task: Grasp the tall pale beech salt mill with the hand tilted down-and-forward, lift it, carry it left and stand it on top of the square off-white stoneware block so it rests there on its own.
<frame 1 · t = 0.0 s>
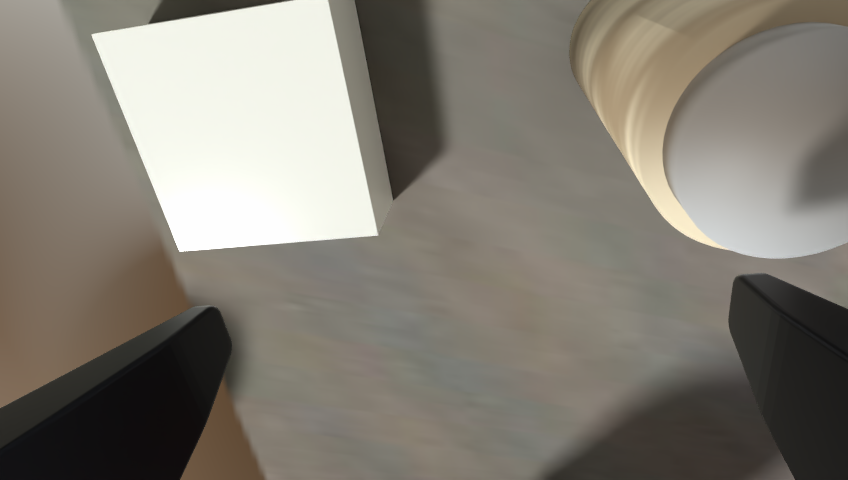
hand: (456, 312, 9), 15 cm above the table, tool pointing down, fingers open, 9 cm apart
stoneware block: (276, 116, 23), on the table
salt mill: (633, 45, 20), on the table
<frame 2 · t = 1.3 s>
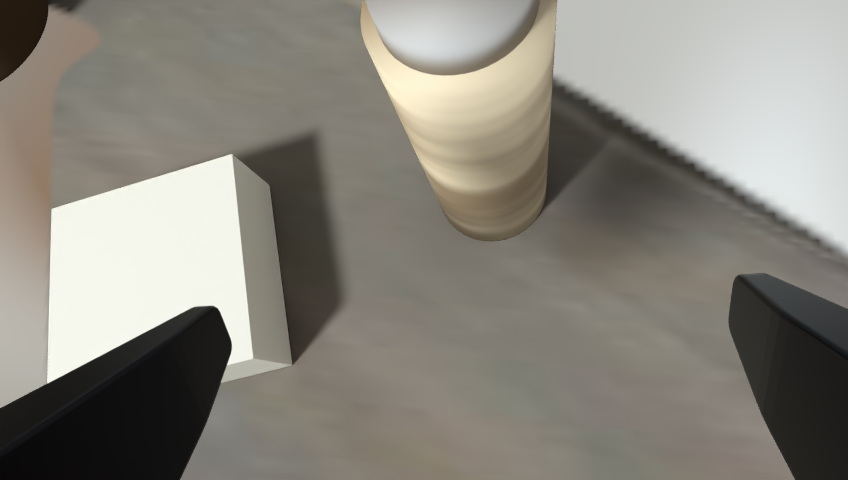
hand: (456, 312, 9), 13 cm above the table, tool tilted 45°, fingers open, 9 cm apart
stoneware block: (193, 293, 26), on the table
salt mill: (491, 190, 24), on the table
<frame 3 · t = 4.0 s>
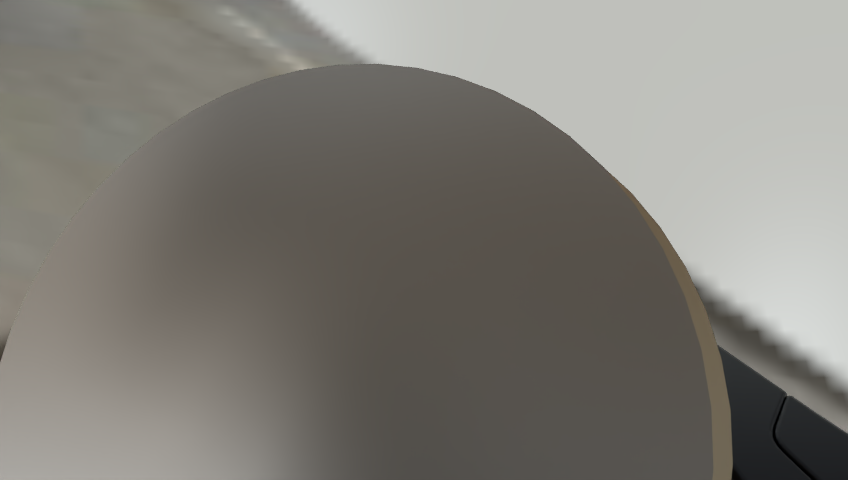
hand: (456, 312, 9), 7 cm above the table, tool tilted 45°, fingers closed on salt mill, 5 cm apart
salt mill: (489, 399, 15), on the table, touching gripper
when the fingers open (11 cm above the table, at t = 7.0 s): salt mill stays where it is, resting on stoneware block.
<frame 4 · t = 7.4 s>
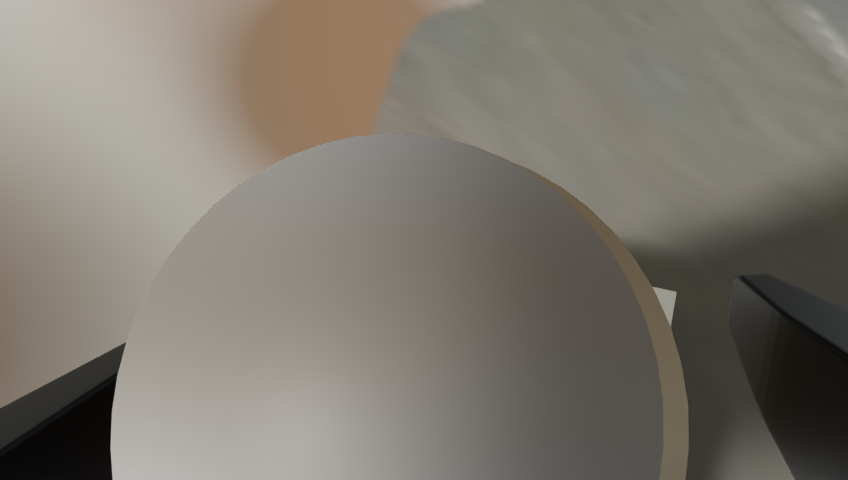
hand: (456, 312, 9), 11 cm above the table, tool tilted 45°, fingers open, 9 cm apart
stoneware block: (499, 400, 19), on the table
salt mill: (492, 401, 16), point 4 cm above the table, touching stoneware block
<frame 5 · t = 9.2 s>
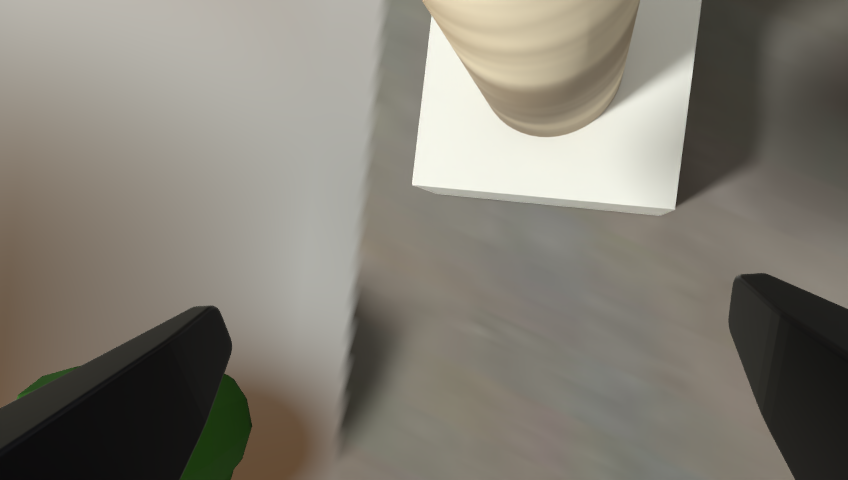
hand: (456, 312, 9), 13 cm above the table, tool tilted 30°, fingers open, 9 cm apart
bell pepper: (209, 422, 27), on the table
stoneware block: (555, 94, 22), on the table
salt mill: (550, 67, 18), point 4 cm above the table, touching stoneware block
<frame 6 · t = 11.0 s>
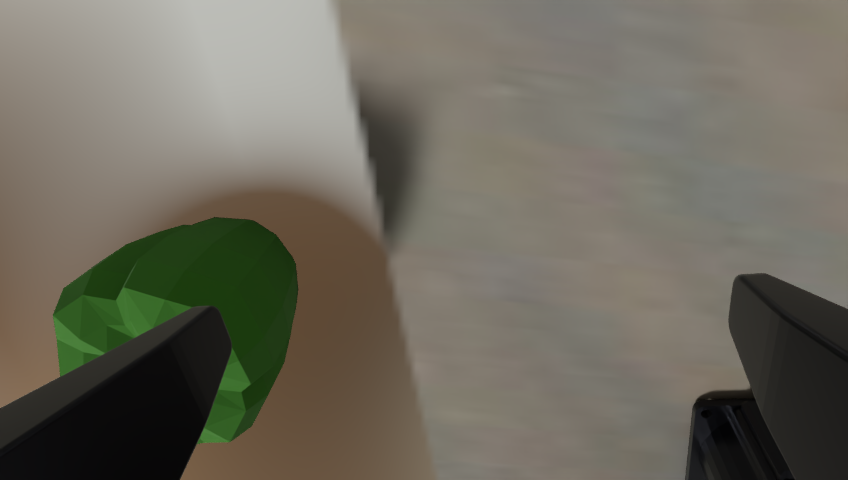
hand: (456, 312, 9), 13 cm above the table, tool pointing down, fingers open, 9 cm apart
bell pepper: (245, 267, 26), on the table
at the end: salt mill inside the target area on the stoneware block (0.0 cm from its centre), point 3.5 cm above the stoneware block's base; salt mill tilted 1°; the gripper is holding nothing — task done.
